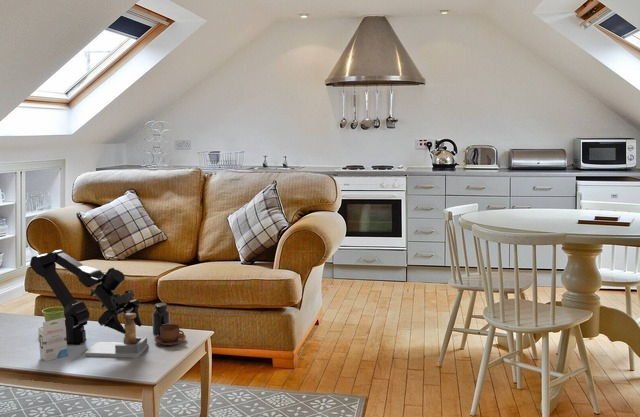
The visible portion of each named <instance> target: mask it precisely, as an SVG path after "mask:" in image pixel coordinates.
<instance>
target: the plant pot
mask: <svg viewBox="0 0 640 417" xmlns="http://www.w3.org/2000/svg"><path fill="white" fill-rule="evenodd" d="M41 312H42V316H43V317H44V320H45V321H44V322H46V321H51V320H55V319H60V318H65V316H64V307H63V306H51V307H47V308H46V307H45V308H44V309H42V310H41ZM53 324H58V322H56V323H55V322H53V323H51V324H50V325H53Z"/></svg>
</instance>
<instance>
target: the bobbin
mask: <svg viewBox="0 0 640 417" xmlns="http://www.w3.org/2000/svg"><path fill="white" fill-rule="evenodd" d="M134 318H136V313H126V314H125V313H122V319H124V320H125V322H124V326H123V328H124V329H125V331H126V333H125V334H124V337H125V343H127V344H132V345H136V344H135V342H136V337H137V332H136V330H137V329H136V326H137V325H136V324H135V323H134Z"/></svg>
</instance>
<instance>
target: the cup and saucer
mask: <svg viewBox="0 0 640 417" xmlns="http://www.w3.org/2000/svg"><path fill="white" fill-rule="evenodd" d="M185 340H186V334H185V333H184V331H183V330H181V329H180V326H179V325H178V324H174V323H170V324H168V325H163V326H161V327H160V335H155V337H154V342H155V343H157V344H159V345H163V346H172V345H178V344H180V343H182V342H184V341H185Z"/></svg>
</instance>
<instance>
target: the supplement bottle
mask: <svg viewBox="0 0 640 417" xmlns="http://www.w3.org/2000/svg"><path fill="white" fill-rule="evenodd" d="M170 316H171V314H170V311H169V310H168V304H167V303H166V302H157V303H155V305H154V311H153V312H152V333H153V335H155V336H158V335H160V327H161V326H163V325H168V324H171V319H170V318H171V317H170Z"/></svg>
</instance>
